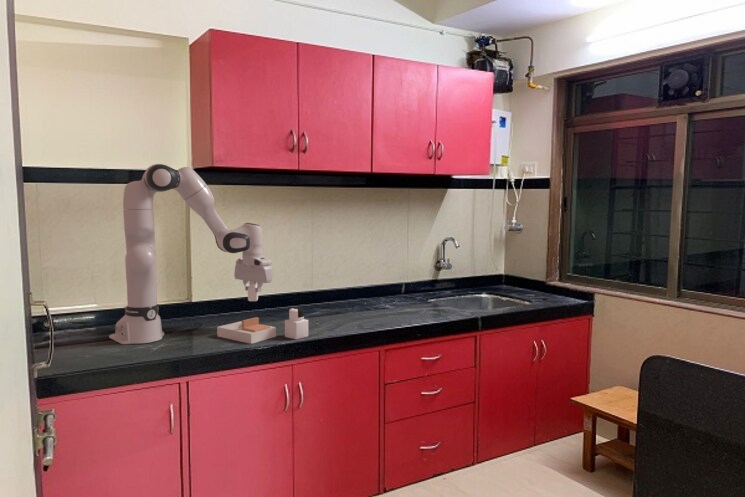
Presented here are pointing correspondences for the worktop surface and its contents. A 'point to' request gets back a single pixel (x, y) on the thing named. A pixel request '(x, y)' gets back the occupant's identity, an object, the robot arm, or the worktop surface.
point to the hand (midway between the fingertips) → (252, 291)
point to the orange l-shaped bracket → (253, 325)
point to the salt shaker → (252, 291)
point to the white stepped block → (296, 324)
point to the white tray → (244, 333)
